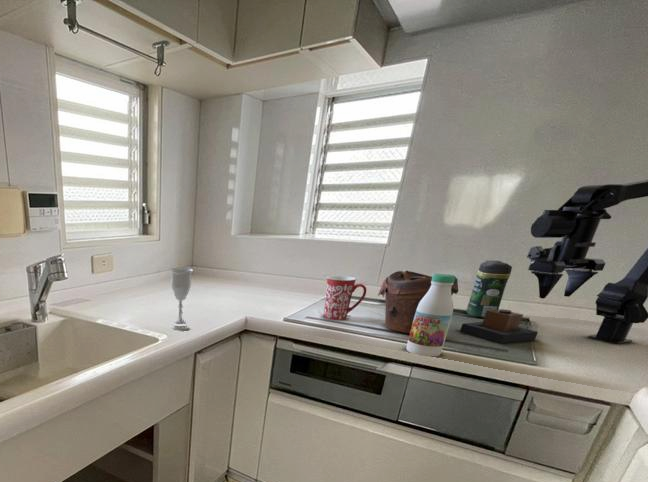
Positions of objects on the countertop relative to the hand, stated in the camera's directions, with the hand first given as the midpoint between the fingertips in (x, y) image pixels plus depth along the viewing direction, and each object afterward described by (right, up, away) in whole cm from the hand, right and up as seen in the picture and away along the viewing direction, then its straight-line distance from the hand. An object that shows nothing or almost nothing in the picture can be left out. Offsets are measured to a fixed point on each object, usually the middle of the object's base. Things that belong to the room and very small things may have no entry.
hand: (554, 297), depth 111 cm
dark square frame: (-10, -10, +8) cm, 16 cm away
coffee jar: (+4, -1, +29) cm, 30 cm away
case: (-32, -7, +14) cm, 35 cm away
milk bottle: (-40, -16, -6) cm, 44 cm away
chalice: (-102, -7, +17) cm, 104 cm away
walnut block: (-9, -10, +8) cm, 16 cm away
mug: (-46, -2, +27) cm, 54 cm away
